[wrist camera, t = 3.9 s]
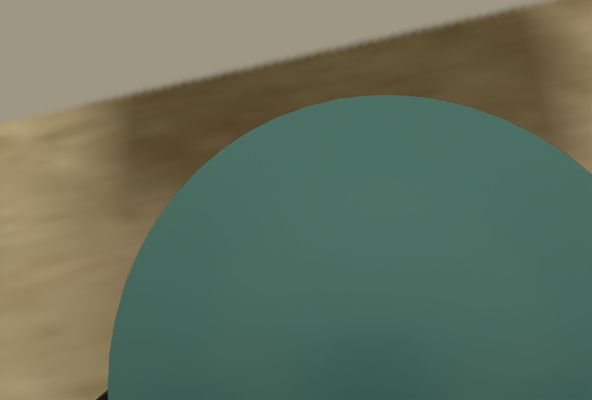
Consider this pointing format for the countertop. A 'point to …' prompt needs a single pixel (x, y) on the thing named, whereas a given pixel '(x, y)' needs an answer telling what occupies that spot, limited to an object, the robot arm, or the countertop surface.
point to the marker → (366, 264)
